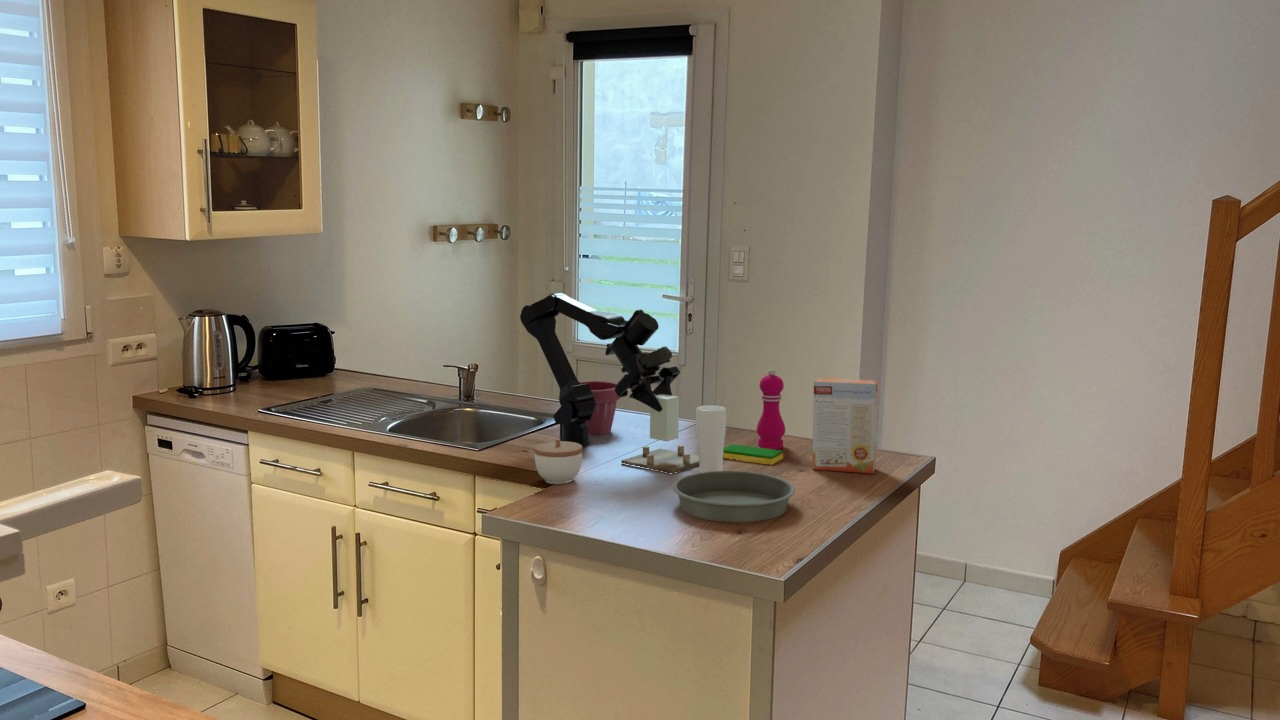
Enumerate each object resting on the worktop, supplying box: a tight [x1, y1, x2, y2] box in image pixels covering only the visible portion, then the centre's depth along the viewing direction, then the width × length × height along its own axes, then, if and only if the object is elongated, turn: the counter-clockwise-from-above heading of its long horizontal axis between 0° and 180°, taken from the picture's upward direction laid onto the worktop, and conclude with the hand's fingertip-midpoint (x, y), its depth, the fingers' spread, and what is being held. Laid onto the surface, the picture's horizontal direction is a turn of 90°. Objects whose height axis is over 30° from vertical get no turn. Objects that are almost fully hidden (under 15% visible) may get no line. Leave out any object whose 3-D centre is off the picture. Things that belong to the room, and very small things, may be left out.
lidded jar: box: [533, 438, 584, 485], centre depth 221 cm, size 11×11×9 cm
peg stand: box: [620, 444, 699, 475], centre depth 237 cm, size 15×15×3 cm
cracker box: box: [811, 377, 879, 475], centre depth 229 cm, size 14×6×21 cm, turn 71°
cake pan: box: [672, 470, 796, 523], centre depth 202 cm, size 25×25×4 cm
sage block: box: [649, 394, 680, 442], centre depth 235 cm, size 5×4×10 cm
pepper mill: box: [755, 368, 786, 450], centre depth 252 cm, size 7×7×20 cm
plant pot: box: [579, 380, 621, 436], centre depth 271 cm, size 14×14×13 cm
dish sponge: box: [723, 443, 784, 466], centre depth 242 cm, size 7×14×2 cm, turn 59°
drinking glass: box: [695, 404, 727, 473], centre depth 227 cm, size 7×7×15 cm
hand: (667, 409), depth 234 cm, fingers closed on sage block, 4 cm apart
